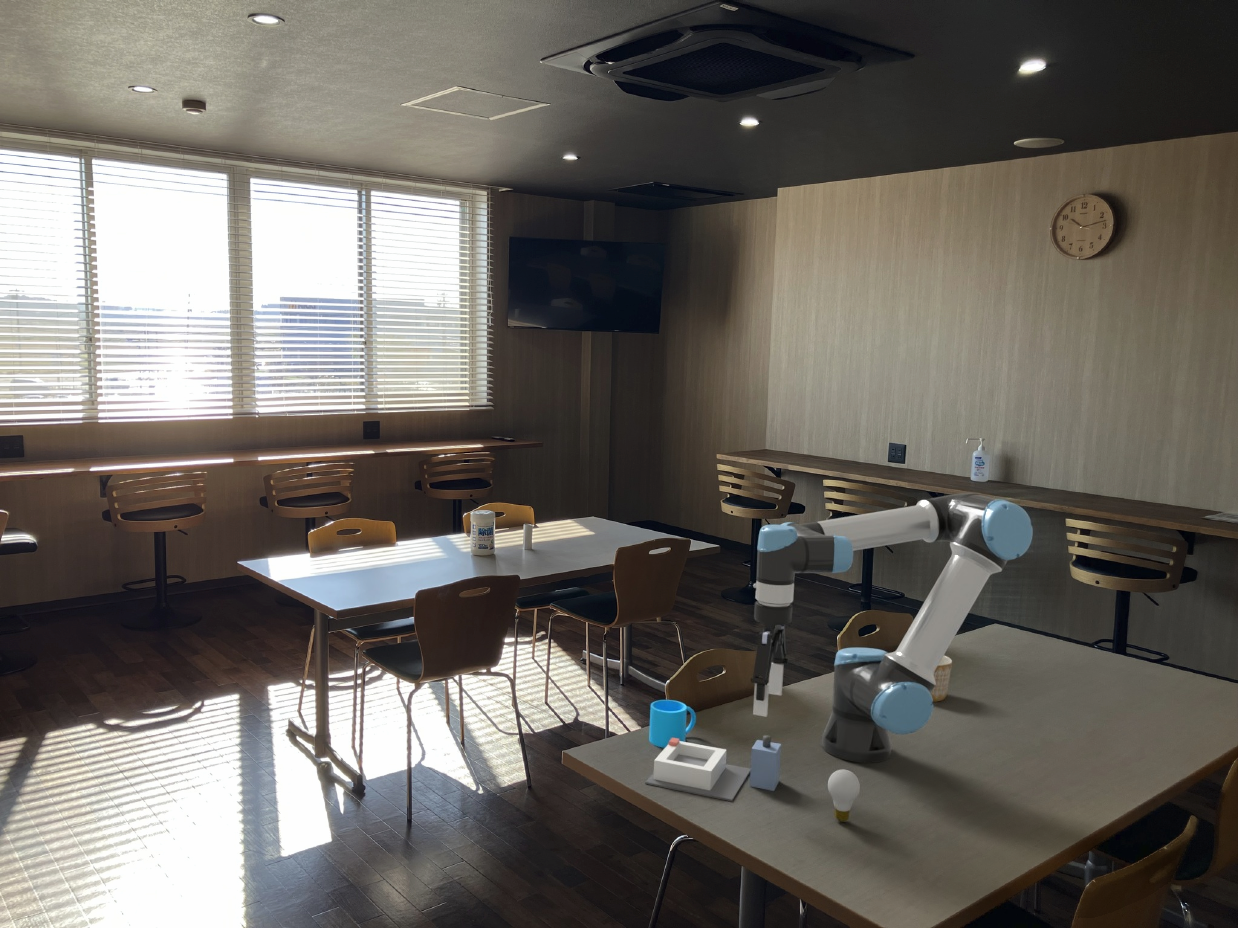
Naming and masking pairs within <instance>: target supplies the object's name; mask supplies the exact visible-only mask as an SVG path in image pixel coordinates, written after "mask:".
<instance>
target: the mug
mask: <svg viewBox="0 0 1238 928" xmlns="http://www.w3.org/2000/svg"><path fill="white" fill-rule="evenodd" d="M649 711H650V712H649V713H650V714H649V717H650V718H649V735H648V737H649V738H648V741H649V743H650V744H651V745H653V746H655V747H659V748H663V749H665V748H666V746H667V745H668V744H669V741H670V740H671V738H678V739H679V741H682V742H686V737H687V736H686V735H687V734H689V733H690V732H691V731H692V730H693V728H694V727H695V725H696V721H697V716H696V712H695V711H694V709H692V708H691V707H690V706H687V705H686V704H685V703H684V702H681V701H678V700H672V699H659V700H656V701H653V702H651V703H650V710H649ZM688 712H689V713H690V717H691V718H690V723H689V724H688V726H687V714H688Z"/></svg>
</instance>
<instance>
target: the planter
mask: <svg viewBox="0 0 1238 928" xmlns="http://www.w3.org/2000/svg"><path fill="white" fill-rule="evenodd" d="M952 664H953V660H952V659H951V658H950V657H949V656H947V655H945V654H944V656H943V657H942V659H941V661H940V662H939V664H938V666H937V668H936V669H935V671H934V679H935V682H936V685H935V687H934V688H933V690H932V692H931V696H932V699H933V702H932V703H937V702H941V701H943V700H945V699H946V698H947V694H948V693H947V692H948V688H949V682H950V676H951V671H952Z"/></svg>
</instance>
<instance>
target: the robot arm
mask: <svg viewBox="0 0 1238 928" xmlns="http://www.w3.org/2000/svg"><path fill="white" fill-rule="evenodd" d="M1033 530H1034V529H1033V526H1032V520H1031V518H1030V515H1029V514H1028V512H1026V510H1025V509H1024V508H1023V507H1021V506H1020V505H1018V504H1016V503H1013V502H1010V501H1008V500H1007V499H1002V498H996V497H990V496H987V495H981V494H978V493H972V492H965V493H963V492H962V493H961V492H960V493H955V494H954V493H953V494H949V495H943V496H942V495H941V496H937V497H933V498H927V499H921V500H919V501H917V503H916V505H910V506H906V507H905V506H904V507H898V508H893V509H888V510H887V509H886V510H882V511H876V512H869V513H862V514H857V515H849V516H844V517H843V516H842V517H838V518H831V519H826V520H820V521H813V522H807V523H800V524H799V523H797V522H794V521H793V522H791V521H789V522H788V521H787V522H783V523H781V524H766V525H763V526H762V527H761V528H760V530H759V534H758V540H757V547H756V548H757V549H756V550H757V557H756V558H757V559H756V560H757V561H756V562H757V563H756V578H755V579H756V582H755V583H753V585H752V586H753V588H754V589H755V597H754V598H755V599H756V600H757V601H755V602H754V613H753V617H754V618H753V619H754V621H756V622H757V623H761V624H762V625H763V629H761V630H760V631H759V633H758V635H757V636H758V641H757V649H756V654H755V655H756V656H755V661H754V668H753V674H752V678H750V683H752V684H754V692H753V707H752V709H753V710H752V711H753V712H752V715H754V716H759V717H766V718H767V717H768V713H769V712H768V711H769V710H768V709H769V695H775V696H782V695H783V683H784V682H783V680H784V665H785V664H786V665H787V664H788V661H789V659H788V658H786V657H787V649H786V647H787V646H786V625H790V624H791V622H792V621H793V618H792V617H793V604H792V603H793V602H794V590H795V575H796V574H831V575H832V574H836V573H837V574H838V573H845V572H847V571H849V569H850V568H851V567H852V564H853V562H854V551H858V550H865V549H871V548H877V547H883V546H889V545H896V544H902V543H907V542H913V541H919V540H920V541H921V540H923V541H925V542H926V543H935V542H949V547H950V550H951V556H950V558H949V559H948V561H947V563H946V564H945V566H944V568H943V570H942V571H941V573H940V574H939V576H938V578H937V580H936V581H935V584H934V585H933V587H932V588H931V590H930V592H929V594H927V597H926V599H925V601H924V602H923V603H922V605H921V607H920V609H919V611H918V613H917V614H916V616H915V618H914V619H913V621H912V623H911V624H910V626H909V628H908V630H907V632H906V633H905V634H904V636H903V638H902V640H901V642H900V643H899V645H898V647H897V648H896V650H895V651H893V652H888V651H885V650H883V649H879V648H872V647H871V648H870V647H846V648H842V649H839V650H838V651H837V652H836V653H835V660H834V664H833V666H834V670H833V671H834V672H833V687H832V688H833V689H832V690H833V691H832V706H831V707H832V709H831V714H830V715H829V719H828V721H827V724H826V726H825V728H824V731H823V733H822V736H821V738H822V739H821V747H822V749H823V750H824V751H825V752H826V753H828V754H830V755H831V756H834V757H836V758H838V759H841V760H845V761H850V762H856V763H879V762H882V761H885V760H888V759H889V758H890V757H891V754H892V741H891V738H890V734H889V733H892V734H895V735H899V736H900V735H908V734H911V733H915V732H917V731H919V730H920V729H922V728H923V727H924V726H925V725H926V724H927V723H928V722H929V720H930V719H931V717H932V714H933V712H934V704H933V703H934V702H933V699H932V696H931V692H932V690H933V688H934V687H935V685H936V682H935V679H934V671H935V669H936V668H937V666H938V664H939V662H940V661H941V659H942V657H943V656H944V655H945V654H946V652H947V650H948V648H949V647H950V646H951V643H952V642H953V640H954V638H955V637H956V635H957V634H958V633H957V632H958V631H959V629H961V626H962V625H963V623H964V621H965V619H966V617H967V616H968V614H969V612H970V610H971V609H972V607H973V605H974V604H975V602H976V601H977V598H978V597H979V595H980V593H981V592H982V590H983V588H984V587H985V585H986V583H987V581H988V580H989V578H990V576H991V575H993V574H997V573H1000V572H1002V571H1003V569H1004V567H1005V566H1006V565H1007V562H1008V561H1011V560H1015V559H1016V558H1020V557H1022V556H1023V555H1024V554H1025V553H1026V552H1027V551H1028V549H1029V548H1030V546H1031V543H1032V540H1033Z"/></svg>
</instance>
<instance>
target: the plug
mask: <svg viewBox="0 0 1238 928" xmlns="http://www.w3.org/2000/svg"><path fill="white" fill-rule="evenodd" d="M781 751H782V744H781V743H778V742H777V743H776V742H772V736H771V735H768V734H764V735H763V736H762V740H760V739H757V740H755V743H754V745H752V747H751V751H750V752H751V753H750V754H751V756H750V757H751V758H750V769H751V770H750V773H749V775H750V776H749V787H752V788H758V789H763V790H768V791H773V792H774V791H775V789H776V788H777V785H778V784H779V782H780V772H781V771H780V768H781V753H782V752H781Z"/></svg>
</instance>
